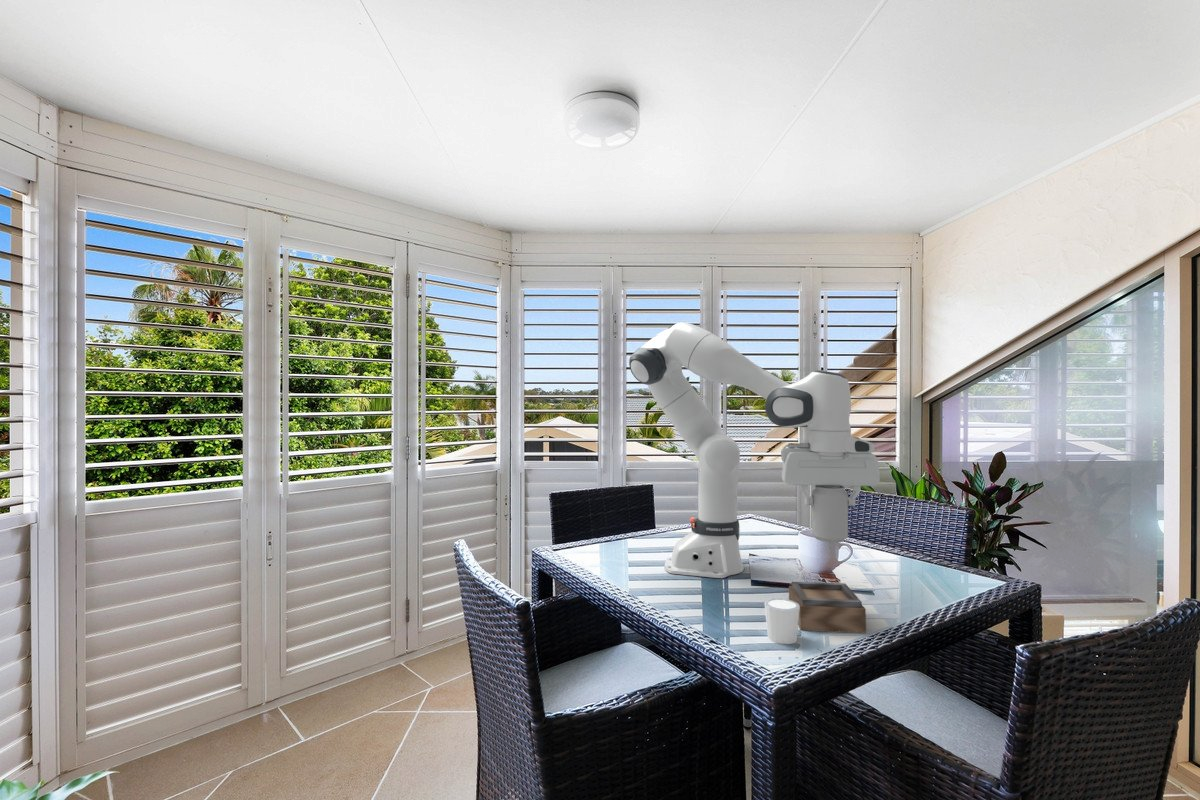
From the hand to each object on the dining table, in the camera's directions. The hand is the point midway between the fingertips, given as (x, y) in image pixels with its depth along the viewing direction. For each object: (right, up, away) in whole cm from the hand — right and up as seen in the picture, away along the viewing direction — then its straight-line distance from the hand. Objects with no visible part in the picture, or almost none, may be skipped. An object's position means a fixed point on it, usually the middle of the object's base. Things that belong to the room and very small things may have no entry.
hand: (829, 505), depth 124 cm
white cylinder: (-14, -25, -10) cm, 31 cm away
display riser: (-2, -25, -1) cm, 25 cm away
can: (0, -8, 0) cm, 8 cm away
